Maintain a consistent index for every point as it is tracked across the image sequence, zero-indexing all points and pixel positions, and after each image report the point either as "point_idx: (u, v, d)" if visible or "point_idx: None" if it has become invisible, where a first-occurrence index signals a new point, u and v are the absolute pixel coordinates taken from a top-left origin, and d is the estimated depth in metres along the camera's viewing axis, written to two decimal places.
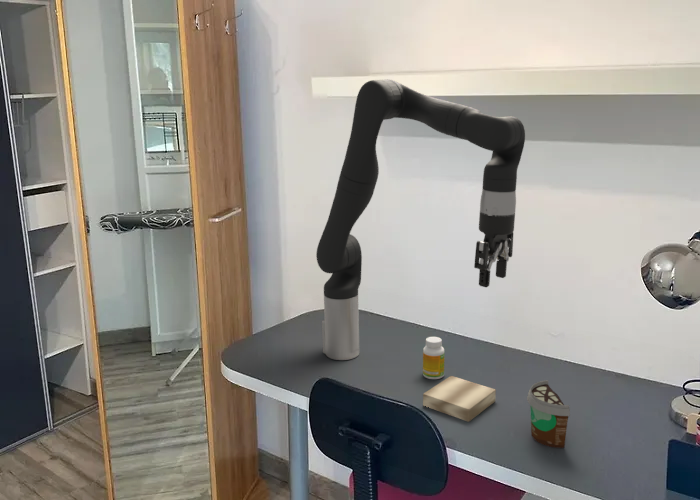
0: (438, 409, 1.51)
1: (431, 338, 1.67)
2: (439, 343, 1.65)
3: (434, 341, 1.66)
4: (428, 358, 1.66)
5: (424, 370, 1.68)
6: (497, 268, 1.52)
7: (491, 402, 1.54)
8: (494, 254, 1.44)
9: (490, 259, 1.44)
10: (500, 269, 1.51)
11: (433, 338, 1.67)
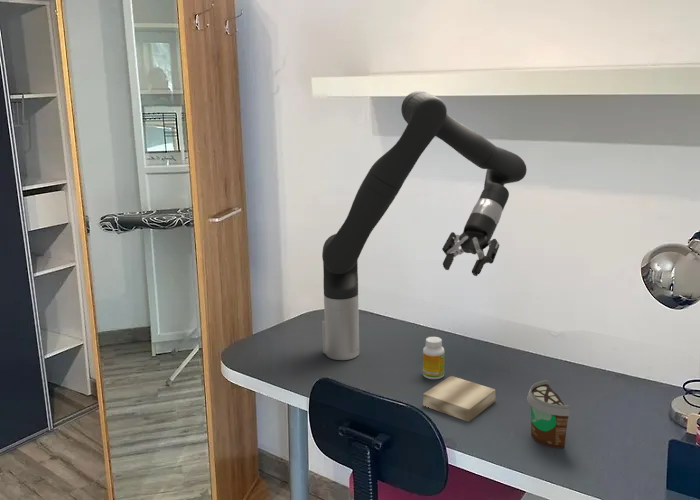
0: (438, 409, 1.51)
1: (431, 338, 1.67)
2: (439, 343, 1.65)
3: (434, 341, 1.66)
4: (429, 358, 1.66)
5: (424, 370, 1.68)
6: (448, 260, 1.74)
7: (491, 402, 1.54)
8: (483, 252, 1.72)
9: (484, 255, 1.71)
10: (449, 262, 1.74)
11: (433, 338, 1.67)
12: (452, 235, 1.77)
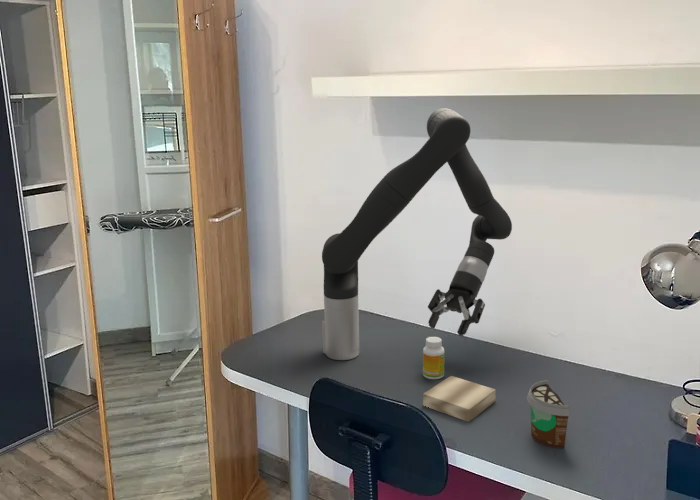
0: (438, 409, 1.51)
1: (431, 338, 1.67)
2: (439, 343, 1.65)
3: (434, 341, 1.66)
4: (428, 358, 1.66)
5: (424, 370, 1.68)
6: (434, 319, 1.73)
7: (491, 402, 1.54)
8: (469, 311, 1.72)
9: (469, 315, 1.71)
10: (435, 321, 1.74)
11: (433, 338, 1.67)
12: (438, 292, 1.77)
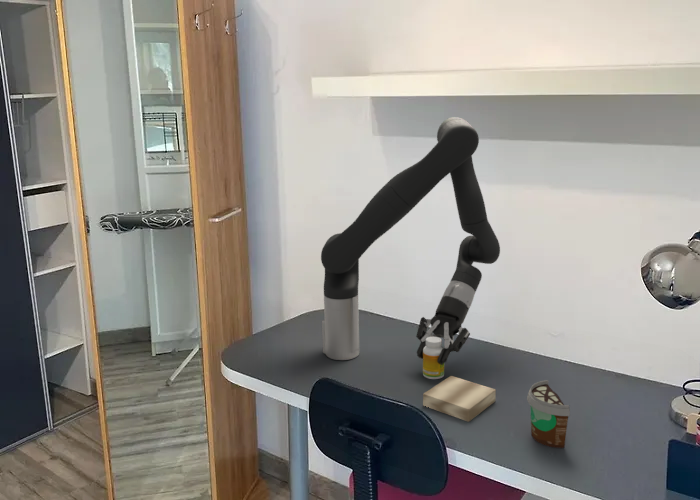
0: (438, 409, 1.51)
1: (431, 338, 1.67)
2: (439, 343, 1.65)
3: (434, 341, 1.66)
4: (428, 358, 1.66)
5: (424, 370, 1.68)
6: (422, 349, 1.68)
7: (491, 402, 1.54)
8: (453, 339, 1.69)
9: (452, 343, 1.67)
10: None
11: (433, 338, 1.67)
12: (423, 320, 1.73)
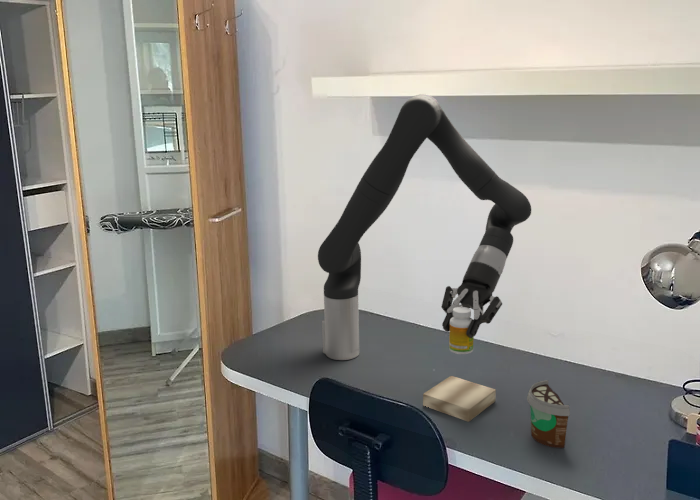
0: (438, 409, 1.51)
1: (459, 308, 1.50)
2: (468, 313, 1.47)
3: (462, 311, 1.48)
4: (456, 331, 1.48)
5: (451, 344, 1.50)
6: (448, 321, 1.50)
7: (491, 402, 1.54)
8: (482, 309, 1.51)
9: (482, 314, 1.49)
10: None
11: (461, 308, 1.49)
12: (448, 289, 1.55)
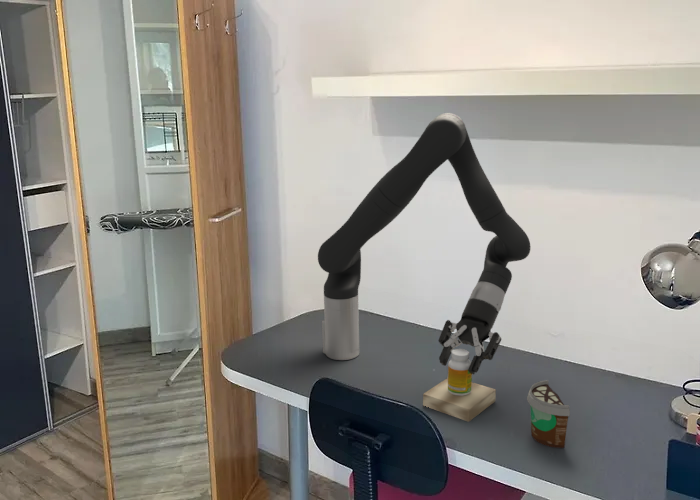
0: (438, 409, 1.51)
1: (457, 350, 1.52)
2: (466, 356, 1.50)
3: (461, 354, 1.50)
4: (455, 373, 1.50)
5: (449, 385, 1.52)
6: (445, 355, 1.53)
7: (491, 402, 1.54)
8: (482, 345, 1.53)
9: (483, 349, 1.51)
10: (446, 357, 1.54)
11: (459, 350, 1.52)
12: (448, 324, 1.57)
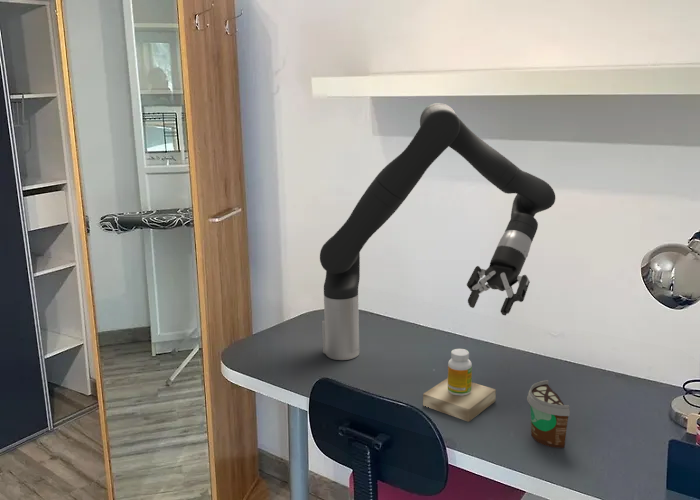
0: (438, 409, 1.51)
1: (457, 350, 1.52)
2: (466, 356, 1.50)
3: (461, 354, 1.50)
4: (455, 373, 1.50)
5: (449, 386, 1.52)
6: (474, 297, 1.61)
7: (491, 402, 1.54)
8: (512, 289, 1.59)
9: (513, 292, 1.58)
10: (475, 299, 1.61)
11: (459, 350, 1.52)
12: (477, 269, 1.64)
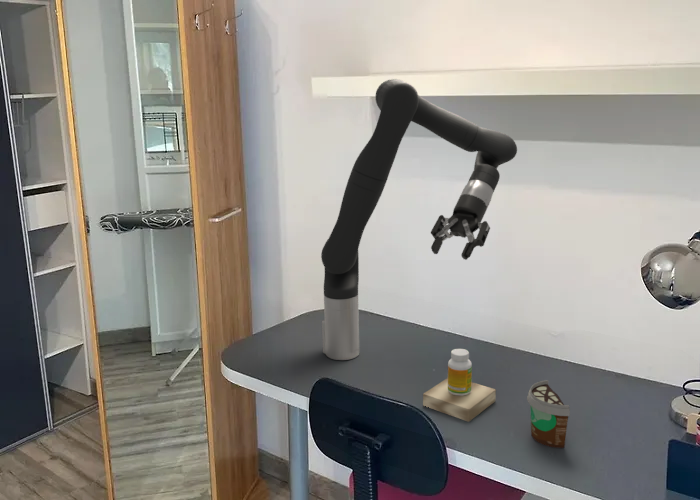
0: (438, 409, 1.51)
1: (457, 350, 1.52)
2: (466, 356, 1.50)
3: (461, 354, 1.50)
4: (455, 373, 1.50)
5: (449, 386, 1.52)
6: (437, 244, 1.67)
7: (491, 402, 1.54)
8: (473, 236, 1.66)
9: (474, 238, 1.65)
10: (438, 246, 1.67)
11: (459, 350, 1.52)
12: (441, 218, 1.70)
